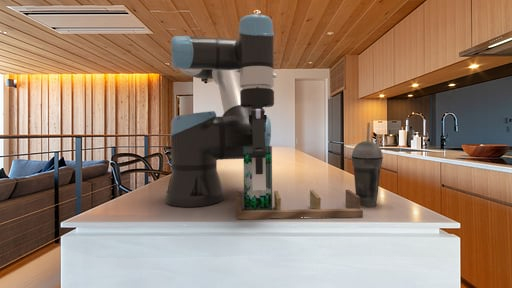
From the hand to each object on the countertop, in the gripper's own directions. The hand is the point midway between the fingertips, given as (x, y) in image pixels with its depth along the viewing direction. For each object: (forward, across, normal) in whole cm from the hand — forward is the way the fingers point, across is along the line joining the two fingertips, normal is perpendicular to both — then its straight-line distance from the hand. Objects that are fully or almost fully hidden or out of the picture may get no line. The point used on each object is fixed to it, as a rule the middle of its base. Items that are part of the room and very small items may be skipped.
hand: (258, 183), depth 69 cm
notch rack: (+6, 0, -8) cm, 11 cm away
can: (+7, 0, 0) cm, 7 cm away
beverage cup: (+7, +6, -27) cm, 28 cm away
